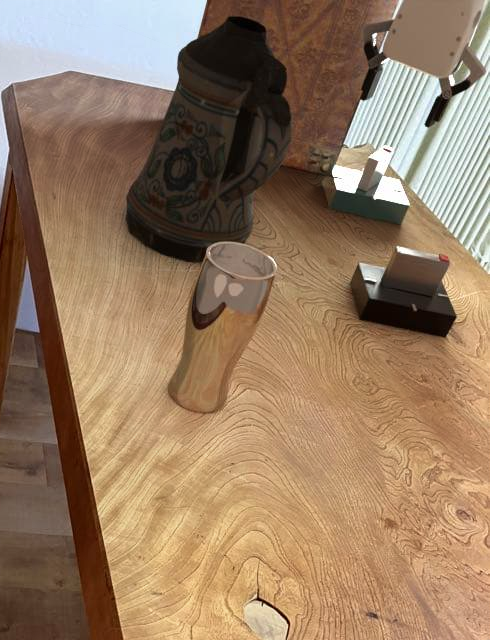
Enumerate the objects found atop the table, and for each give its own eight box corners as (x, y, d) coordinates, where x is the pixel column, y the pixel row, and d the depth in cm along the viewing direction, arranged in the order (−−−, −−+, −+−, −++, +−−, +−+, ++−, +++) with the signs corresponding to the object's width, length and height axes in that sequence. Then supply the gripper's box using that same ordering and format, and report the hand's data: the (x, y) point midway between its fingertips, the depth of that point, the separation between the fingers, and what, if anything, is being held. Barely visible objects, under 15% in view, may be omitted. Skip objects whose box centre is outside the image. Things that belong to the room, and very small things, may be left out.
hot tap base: (360, 323, 107) (370, 300, 105) (348, 280, 115) (358, 257, 113) (447, 341, 108) (459, 319, 106) (429, 297, 116) (440, 275, 114)
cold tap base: (329, 211, 129) (338, 190, 127) (321, 181, 137) (329, 160, 135) (402, 227, 130) (411, 206, 128) (389, 196, 138) (398, 176, 136)
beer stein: (162, 191, 124) (213, -12, 106) (285, 249, 118) (360, 44, 100) (97, 224, 113) (142, 4, 95) (229, 290, 107) (302, 69, 90)
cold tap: (366, 191, 129) (379, 159, 126) (356, 187, 130) (369, 154, 126) (381, 180, 133) (394, 148, 130) (371, 176, 134) (384, 144, 131)
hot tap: (382, 286, 109) (399, 250, 105) (380, 279, 110) (396, 244, 106) (433, 297, 109) (451, 261, 106) (430, 290, 110) (448, 255, 107)
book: (172, 138, 138) (229, -92, 117) (176, 118, 145) (231, -104, 124) (331, 177, 139) (416, -45, 118) (328, 155, 145) (408, -59, 124)
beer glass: (229, 382, 93) (277, 249, 83) (230, 422, 88) (281, 286, 78) (164, 368, 93) (204, 233, 82) (161, 407, 88) (204, 269, 77)
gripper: (528, -8, 112) (462, 130, 124) (403, -53, 117) (351, 84, 129) (514, -1, 107) (446, 141, 119) (384, -48, 112) (332, 93, 124)
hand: (397, 111), depth 124 cm, fingers open, 9 cm apart
